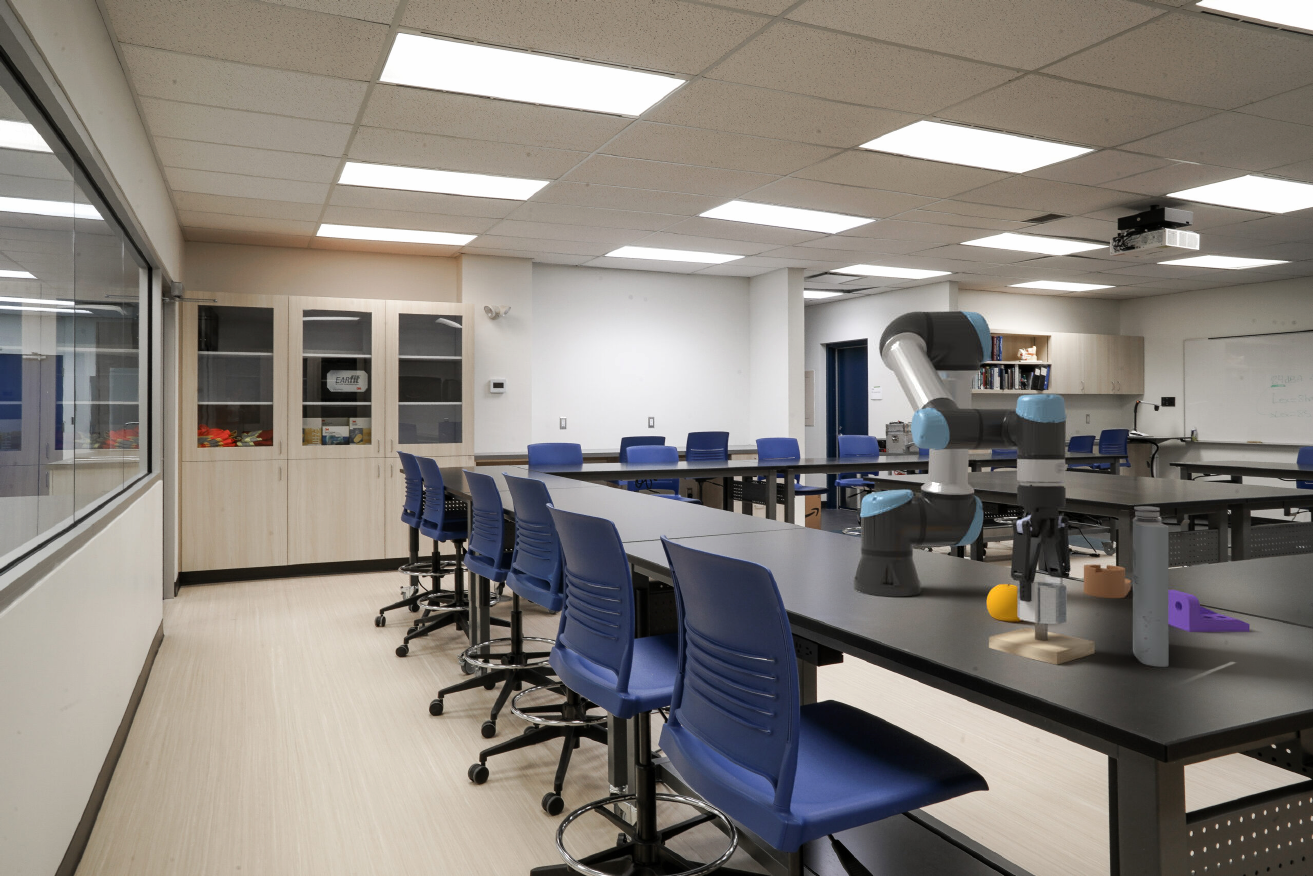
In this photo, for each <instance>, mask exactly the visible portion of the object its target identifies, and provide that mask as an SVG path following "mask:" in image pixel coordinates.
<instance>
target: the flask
mask: <svg viewBox="0 0 1313 876" xmlns="http://www.w3.org/2000/svg"><path fill="white" fill-rule="evenodd" d="M1133 508H1134V510H1135V513H1134V514H1135V516H1134V518H1132V652H1133V655H1134V656H1135V657H1136V659H1137V660H1138V661H1139V662H1140V663H1142V664H1143V665H1147V666H1151V667H1152V666H1153V667H1162V668H1163V667H1164V668H1166V667H1169V624H1168V590H1169V525H1167V524H1164V523H1162V518H1161V517H1160V509H1161V508H1160V507H1156V506H1134V507H1133Z"/></svg>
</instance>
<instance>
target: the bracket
mask: <svg viewBox="0 0 1313 876" xmlns="http://www.w3.org/2000/svg"><path fill="white" fill-rule="evenodd" d="M1169 625H1170V626H1173V627H1175V628H1178V629H1181V630H1184V631H1186V632H1189V633H1192V632H1193V633H1195V632H1196V633H1199V632H1200V633H1201V632H1203V633H1204V632H1205V633H1207V632H1208V633H1209V632H1250V629H1251V628H1250V623H1248V622H1245V621H1243V620H1241V619H1238V618H1234V617H1232V616H1228V615H1225V614H1221V613H1219V612H1218V613H1217V612H1215V611H1213V610H1210V609H1208V608H1206V607H1204V606H1202V605H1201V604H1200V601H1199V599H1198V597H1197V596H1196V595H1194V594H1191V593H1188V592H1183V591H1180V590H1176V589H1168V626H1169Z"/></svg>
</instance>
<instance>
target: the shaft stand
mask: <svg viewBox="0 0 1313 876" xmlns="http://www.w3.org/2000/svg"><path fill="white" fill-rule="evenodd" d="M1048 627H1049V624H1045V623H1035V622H1034V628H1031V627H1028V626H1027V627H1025V628H1020V629H1016V630H1012V631H1007V632H1003V633H998V634H995V635H992V636H991V635H990V636H988V649H993V650H997V651H1000V652H1004V653H1008V654H1012V655H1015V656H1018V657H1023V658H1027V659H1031V660H1036V661H1040V662H1043V663H1048V664H1052V665H1056V666H1057V665H1060V664H1063V663H1066V662H1071V661H1074V660H1077V659H1080V658H1083V657H1086V656H1090V655H1093V654H1095V653H1096V652H1095V651H1096V650H1095V649H1096V645H1095V643H1096V642H1095V640H1090V639H1085V638H1080V637H1074V636H1070V635H1064V634H1061V633H1056V632H1051V631H1048V630H1049V629H1048Z"/></svg>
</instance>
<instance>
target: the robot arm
mask: <svg viewBox="0 0 1313 876" xmlns="http://www.w3.org/2000/svg"><path fill="white" fill-rule="evenodd" d="M991 333H992V332H991V330H990V327H989V324H988V322H987V320H986V318H985V317H984V316H983V315H982V314H980V313H979V312H975V311H964V310H958V311H956V310H955V311H952V310H950V311H949V310H948V311H912V312H910V311H909V312H907V313H904V314H902V315H900V316H897V317H896V318H895V319H894V320H892V321H890V323H889V324H888V325H887V326H886V327H885V329H884V330H883V332H882V334H881V336H880V339H879V346H878V349H879V351H878V352H879V355H880V358H881V360H882V362H883V364H884V366H885V367H886V368H888V369H889V370H890V371H893V373H894V376H896V377H895V378H897V381H898V383H899V384H900V387H901V389H902V391H903V392H904V394H905V397H906V399H907V400H908V402H909V404H910V406H911V408H912V410H913V411H914V413H913V415H912V420H911V422H910V423H911V425H910V427H911V428H910V431H911V435H912V441H913V444H914V446H916V448H917V447H918V448H920V449H926V450H929V451H928V452H929V453H928V475H927V476H928V479H927V481H926V482H925V483H924V484H923V485H921V486H920V495H915V494H914V492H913V490H911V489H891V490H884V491H876V492H871V493H868V494H866V495H865V496H864V497H862V500H861V507H860V514H859V517H860V560H859V562H858V565H857V568H856V571H855V576H854V578H853V590H854V589H855V590H857V591H856V592H858V591H860V592H859V593H861V592H863V593H862V594H865V593H867V594H866V595H870V594H872V596H878V597H879V596H880V597H910V596H916V595H919V594H921V592H922V588H921V587H922V585H921V584H922V583H921V581H920V579H919V574H918V572H917V568H916V564H915V562H914V551H913V550H914V546H917V547H918V546H919V547H921V546H922V547H924V546H925V547H926V546H927V547H928V546H929V547H931V546H933V547H937V546H938V547H941V546H942V547H951V548H954V547H958V546H959V547H960V546H969V545H971V544H974V542H975V541H976V540H977V539H978V537H979V535H980V533H981V531H982V528H983V522H984V510H983V506H984V505H983V503H982V501H981V499H980V497H978V496H976V495H975V490H974V488H973V487H972V486H971V484H969V482H968V479H969V475H968V474H969V457H970V456H969V455H970V450H1004V451H1005V450H1006V451H1007V450H1011V451H1014V450H1017V451H1016V452H1017V453H1016V455H1017V456H1016V458H1017V459H1016V481H1017V482H1018V483H1020V484H1018V486H1017V487H1016V491H1017V492H1016V497H1017V499H1016V500H1017V501H1016V503H1017V505H1018V506H1019V507H1023V509H1024V512H1023V515H1022V518H1021V519H1013V520H1012V531H1013V536H1012V537H1013V538H1012V550H1011V551H1012V552H1011V568H1010V578H1012V579H1013V581H1016V582H1020V619H1022V620H1021V621H1024V620H1027V621H1026V622H1030V621H1032V622H1031V623H1035V622H1038V588H1037V583H1035V582H1034V580H1036V579H1035V577H1036V573H1037V569H1038V563H1039V558H1040V554H1041V549H1042V551H1043V555H1044V559H1045V565H1046V570H1047V574H1048V575H1045V576H1044V581H1050V582H1057V583H1062V584H1064V581H1063V579H1064V578H1066V579H1068V578H1069V577H1070V572H1071V570H1072V569H1071V557H1070V554H1071V553H1070V544H1069V543H1070V541H1069V540H1070V539H1069V522H1070V518H1069V517H1068V516H1060V514H1059V510H1058V509H1062V508H1065V507H1066V503H1067V501H1066V498H1067V496H1066V494H1067V493H1066V492H1067V490H1066V487H1065V485H1062V484H1064V483H1065V482H1066V471H1067V470H1068V469H1067V465H1066V439H1067V438H1066V435H1067V434H1066V433H1067V432H1066V430H1067V429H1066V427H1067V425H1066V424H1067V413H1066V404H1065V399H1064V397H1063V396H1062V395H1061V394H1053V393H1052V394H1051V393H1050V394H1049V393H1047V394H1045V393H1044V394H1043V393H1040V394H1037V393H1036V394H1023V395H1020V396H1019V397H1018V398H1017V401H1016V408H972V395H973V394H972V391H973V390H972V389H973V388H972V387H973V379H974V378H975V377H976V375H978V374H979V373H980V372H981V365H982V364H984V363H987V361H989V359H990V356H991V355H990V354H991V352H992V344H993V343H992V334H991ZM855 590H854V591H855Z"/></svg>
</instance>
